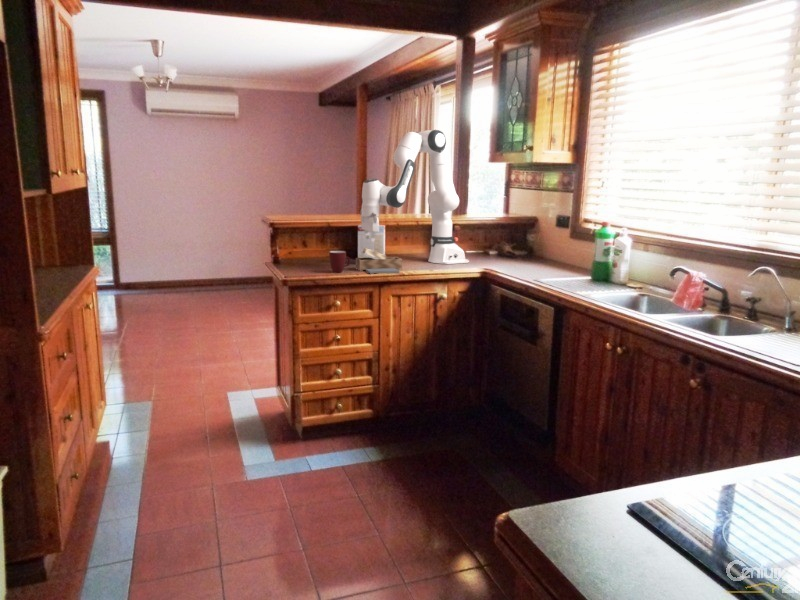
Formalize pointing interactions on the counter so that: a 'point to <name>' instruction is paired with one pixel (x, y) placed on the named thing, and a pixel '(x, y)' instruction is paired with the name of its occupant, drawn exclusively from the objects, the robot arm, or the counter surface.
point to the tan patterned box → (378, 263)
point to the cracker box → (366, 243)
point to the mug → (338, 260)
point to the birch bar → (374, 253)
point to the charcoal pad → (382, 270)
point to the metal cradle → (368, 255)
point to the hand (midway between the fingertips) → (369, 240)
